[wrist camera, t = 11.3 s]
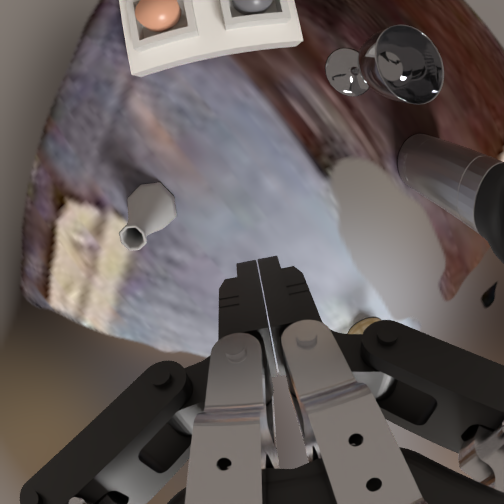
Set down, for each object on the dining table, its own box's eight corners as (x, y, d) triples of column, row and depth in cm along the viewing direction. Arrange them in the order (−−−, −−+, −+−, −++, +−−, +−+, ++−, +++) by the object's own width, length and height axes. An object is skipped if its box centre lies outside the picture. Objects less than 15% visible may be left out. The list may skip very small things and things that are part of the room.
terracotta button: (178, -5, 21) (174, -14, 18) (184, 25, 23) (180, 18, 20) (140, 6, 21) (132, -1, 18) (145, 37, 23) (137, 31, 21)
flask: (120, 194, 37) (92, 223, 29) (163, 173, 37) (144, 196, 28) (143, 236, 41) (123, 274, 32) (185, 218, 40) (174, 253, 32)
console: (278, -27, 24) (287, -47, 18) (295, 46, 30) (308, 36, 24) (128, 3, 24) (111, -12, 18) (140, 77, 30) (124, 72, 24)
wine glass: (328, 102, 34) (384, 106, 21) (316, 47, 30) (367, 21, 17) (379, 97, 33) (449, 104, 20) (369, 45, 29) (435, 29, 16)
